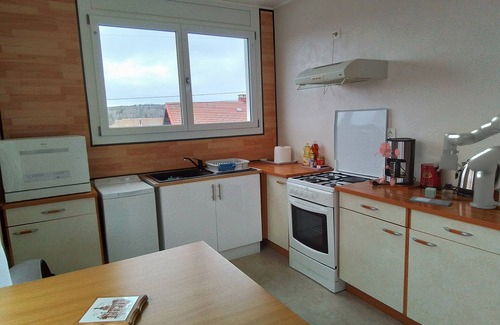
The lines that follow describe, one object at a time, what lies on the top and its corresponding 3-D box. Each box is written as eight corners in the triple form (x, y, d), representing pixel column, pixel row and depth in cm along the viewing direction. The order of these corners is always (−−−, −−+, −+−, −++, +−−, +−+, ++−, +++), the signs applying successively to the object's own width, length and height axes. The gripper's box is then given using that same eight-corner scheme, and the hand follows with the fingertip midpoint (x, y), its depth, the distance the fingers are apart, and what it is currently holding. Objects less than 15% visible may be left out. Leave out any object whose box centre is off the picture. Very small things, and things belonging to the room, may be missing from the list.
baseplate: (451, 202, 202) (451, 201, 202) (447, 206, 194) (447, 204, 194) (413, 197, 216) (413, 196, 216) (409, 201, 209) (409, 199, 209)
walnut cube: (452, 198, 212) (453, 190, 211) (451, 200, 208) (451, 192, 207) (443, 197, 216) (443, 189, 215) (441, 199, 212) (441, 191, 211)
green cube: (435, 196, 219) (436, 188, 218) (433, 198, 214) (434, 190, 214) (426, 195, 222) (427, 187, 221) (424, 196, 218) (425, 189, 217)
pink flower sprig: (379, 181, 271) (379, 140, 265) (404, 187, 247) (405, 142, 242) (365, 183, 265) (365, 141, 260) (389, 190, 241) (390, 144, 236)
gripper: (466, 152, 204) (463, 178, 207) (435, 150, 216) (434, 175, 219) (464, 153, 199) (461, 180, 202) (433, 151, 210) (431, 177, 213)
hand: (447, 177), depth 210 cm, fingers open, 9 cm apart
